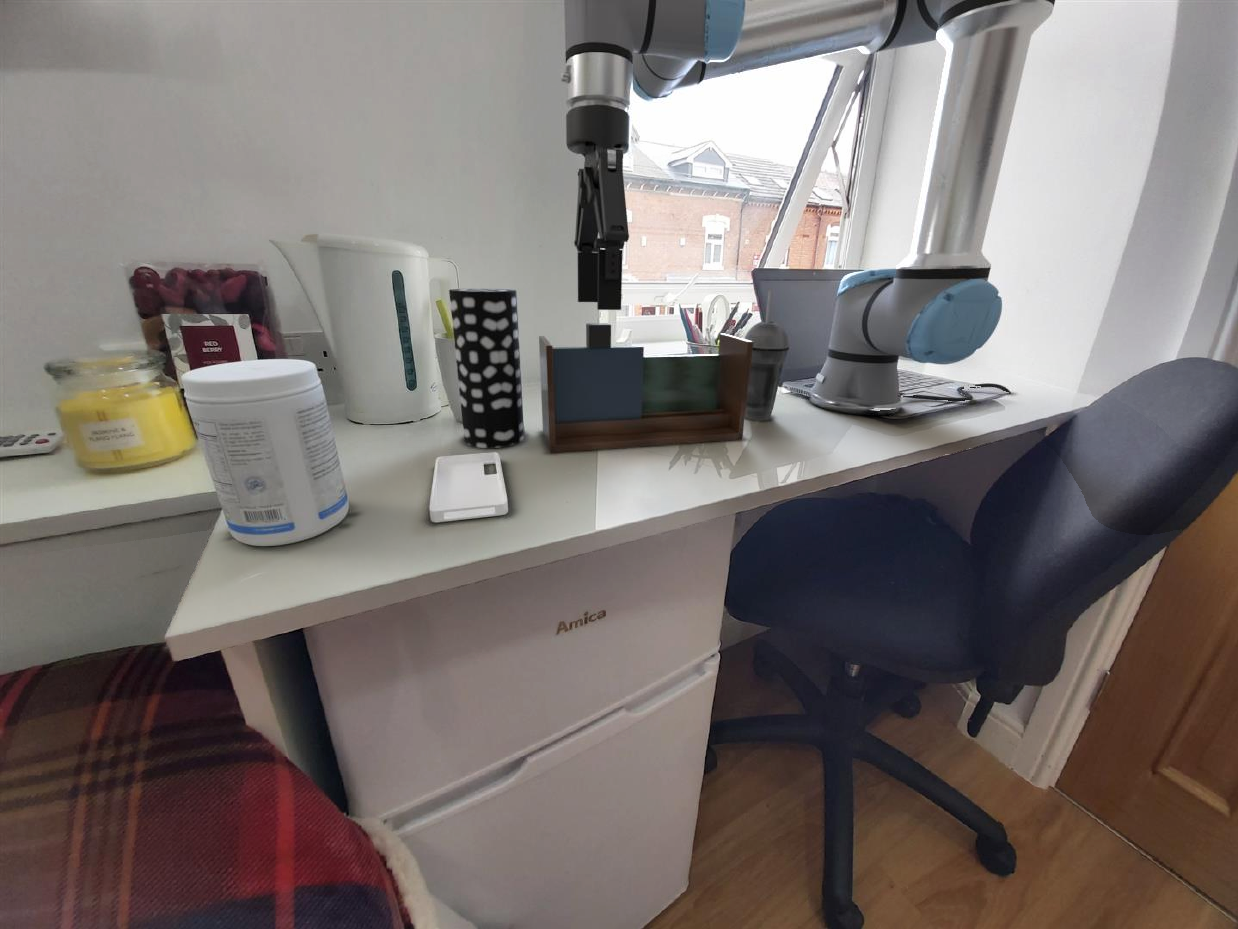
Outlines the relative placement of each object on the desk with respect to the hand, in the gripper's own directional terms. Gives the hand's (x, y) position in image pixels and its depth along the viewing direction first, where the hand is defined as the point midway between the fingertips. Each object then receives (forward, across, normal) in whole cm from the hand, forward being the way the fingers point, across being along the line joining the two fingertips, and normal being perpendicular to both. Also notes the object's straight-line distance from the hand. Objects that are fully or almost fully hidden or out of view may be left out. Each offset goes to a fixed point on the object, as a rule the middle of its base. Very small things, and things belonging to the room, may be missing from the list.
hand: (597, 305), depth 65 cm
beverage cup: (+18, -6, +29) cm, 35 cm away
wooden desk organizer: (+18, 0, +7) cm, 20 cm away
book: (+17, 0, 0) cm, 17 cm away
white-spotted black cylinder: (+19, -3, -14) cm, 24 cm away
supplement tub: (+19, +19, -33) cm, 42 cm away
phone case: (+19, +14, -17) cm, 29 cm away
